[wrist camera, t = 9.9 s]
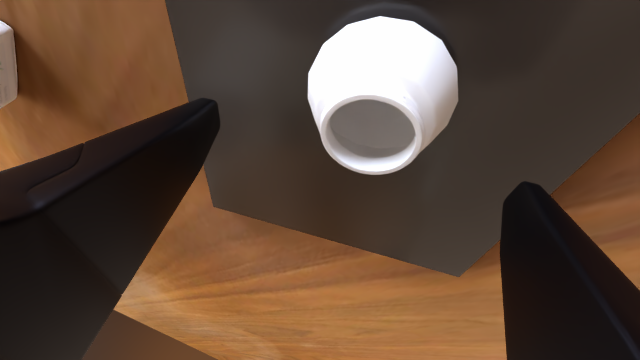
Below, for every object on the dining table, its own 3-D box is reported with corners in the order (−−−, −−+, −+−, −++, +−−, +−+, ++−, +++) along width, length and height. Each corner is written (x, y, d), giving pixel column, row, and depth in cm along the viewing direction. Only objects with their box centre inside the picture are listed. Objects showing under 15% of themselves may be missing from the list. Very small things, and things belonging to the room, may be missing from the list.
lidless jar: (396, 160, 13) (492, 68, 10) (389, 213, 11) (506, 124, 8) (294, 102, 13) (357, -23, 9) (268, 149, 11) (335, 15, 7)
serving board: (1483, -747, 3) (1774, -912, 2) (458, 262, 20) (459, 277, 19) (24, -800, 4) (-53, -923, 4) (220, 195, 21) (213, 207, 20)
